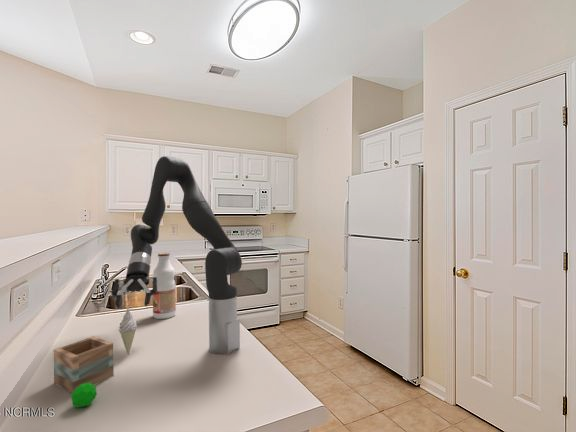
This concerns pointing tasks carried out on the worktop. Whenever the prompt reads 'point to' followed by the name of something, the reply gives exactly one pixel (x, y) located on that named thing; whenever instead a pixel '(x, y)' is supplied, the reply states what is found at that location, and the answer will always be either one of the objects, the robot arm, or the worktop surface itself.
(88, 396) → the polyhedron
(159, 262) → the fruit juice
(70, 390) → the square wooden crate
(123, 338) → the ice cream cone
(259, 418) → the worktop surface
